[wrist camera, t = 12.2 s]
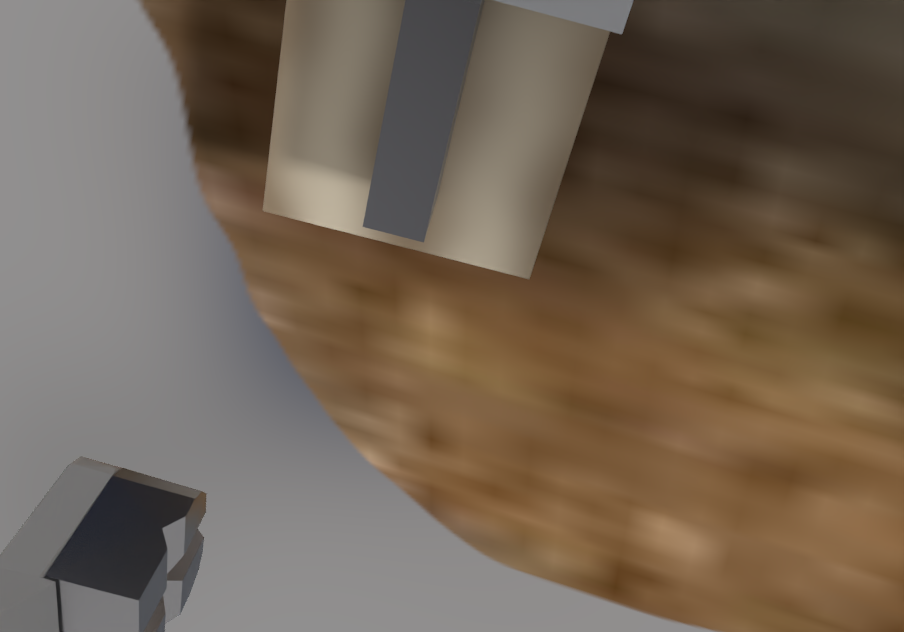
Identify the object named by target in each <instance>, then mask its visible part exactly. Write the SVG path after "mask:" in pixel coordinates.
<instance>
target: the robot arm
mask: <svg viewBox="0 0 904 632" xmlns="http://www.w3.org/2000/svg"><path fill="white" fill-rule="evenodd" d="M205 513H206V493H204V492H202V491H199V490H196V489H192V488H189V487H186V486H182V485H179V484H175V483H172V482H169V481H165V480H162V479H158V478H155V477H151V476H148V475H144V474H142V473H138V472H135V471H131V470H128V469H125V468H121V467H117V466H113V465H110V464H106V463H103V462H99V461H96V460H92V459H89V458H85V457H79V458H78V459H76V460H75V461H74V462H72V463H71V464H69V465H68V466H67V467H66V469H65V470H64V471H63V473H62V474H61V475H60V477H59V478H58V479H57V481H56V482H55V483H54V484H53V486H52V487H51V488H50V490H49V491H48V492H47V494H46V495H45V496H44V498H43V499H42V500H41V502H40V503H39V504H38V506H37V507H36V508H35V510H34V511H33V512H32V513H31V515H30V516H29V517H28V519H27V520H26V522H25V523H24V524H23V525H22V527H21V528H20V529H19V531H18V532H17V533H16V535H15V536H14V537H13V539H12V540H11V541H10V543H9V544H8V545H7V546H6V548H5V549H4V550H3V552H2V553H1V554H0V632H165V624H166V623H167V622H169V621H170V620H172V619H174V618H175V617H177V616H179V615H180V614H181V612H182V610H183V608H184V605H185V603H186V601H187V599H188V597H189V595H190V592H191V589H192V587H193V584H194V581H195V578H196V576H197V573H198V570H199V566H200V561H201V557H202V552H203V542H204V537H203V536H202V534H201V533H200V532H199V530H198V527H199V525H200V523H201V521H202V519H203V517H204V515H205Z"/></svg>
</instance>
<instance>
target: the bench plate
mask: <svg viewBox="0 0 904 632" xmlns="http://www.w3.org/2000/svg"><path fill="white" fill-rule="evenodd" d="M404 5H405V0H286V8H285V17H284V26H283V35H282V44H281V53H280V61H279V70H278V79H277V88H276V97H275V106H274V115H273V124H272V132H271V141H270V150H269V159H268V168H267V177H266V186H265V195H264V204H263V211H265V212H269V213H272V214H276V215H280V216H284V217H288V218H292V219H296V220H300V221H304V222H308V223H312V224H315V225H319V226H323V227H327V228H331V229H335V230H339V231H343V232H347V233H351V234H354V235H358V236H362V237H366V238H370V239H374V240H378V241H382V242H386V243H390V244H393V245H397V246H401V247H405V248H409V249H413V250H417V251H421V252H425V253H429V254H432V255H436V256H440V257H444V258H448V259H452V260H456V261H460V262H464V263H468V264H471V265H475V266H479V267H483V268H487V269H491V270H495V271H499V272H503V273H507V274H510V275H514V276H518V277H522V278H526V279H530V276H531V273H532V270H533V266H534V263H535V260H536V257H537V254H538V251H539V248H540V245H541V242H542V239H543V236H544V233H545V230H546V227H547V224H548V220H549V217H550V214H551V211H552V208H553V205H554V202H555V199H556V196H557V193H558V190H559V187H560V184H561V181H562V178H563V175H564V171H565V168H566V165H567V162H568V159H569V156H570V153H571V150H572V147H573V144H574V141H575V138H576V135H577V132H578V129H579V126H580V122H581V119H582V116H583V113H584V110H585V107H586V104H587V101H588V98H589V95H590V92H591V89H592V86H593V83H594V80H595V77H596V73H597V70H598V67H599V64H600V61H601V58H602V55H603V52H604V49H605V46H606V43H607V40H608V37H609V34H610V31H607V30H603V29H599V28H596V27H592V26H588V25H584V24H581V23H577V22H573V21H569V20H566V19H562V18H558V17H554V16H551V15H547V14H543V13H539V12H535V11H532V10H528V9H524V8H520V7H517V6H513V5H509V4H505V3H502V2H498V1H494V0H485V1H484V5H483V9H482V13H481V18H480V22H479V26H478V30H477V34H476V39H475V43H474V47H473V51H472V55H471V59H470V64H469V68H468V72H467V76H466V80H465V84H464V89H463V93H462V97H461V101H460V105H459V109H458V114H457V118H456V122H455V126H454V130H453V134H452V139H451V143H450V147H449V151H448V155H447V159H446V164H445V168H444V172H443V176H442V180H441V184H440V189H439V193H438V197H437V201H436V204H435V207H434V210H433V214H432V217H431V220H430V224H429V227H428V230H427V234H426V237H425V240H424V242H420V241H416V240H412V239H408V238H404V237H400V236H396V235H393V234H389V233H385V232H381V231H377V230H373V229H369V228H365V227H363V222H364V217H365V211H366V206H367V201H368V195H369V190H370V185H371V180H372V174H373V169H374V164H375V158H376V153H377V148H378V143H379V137H380V132H381V127H382V121H383V116H384V111H385V106H386V100H387V95H388V90H389V84H390V79H391V74H392V68H393V63H394V58H395V53H396V47H397V42H398V37H399V31H400V26H401V21H402V16H403V10H404Z"/></svg>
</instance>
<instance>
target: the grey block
mask: <svg viewBox="0 0 904 632" xmlns="http://www.w3.org/2000/svg"><path fill="white" fill-rule="evenodd" d="M484 1H485V0H405V5H404V10H403V16H402V21H401V26H400V31H399V37H398V42H397V47H396V53H395V58H394V63H393V68H392V74H391V79H390V84H389V90H388V95H387V100H386V106H385V111H384V116H383V121H382V127H381V132H380V137H379V143H378V148H377V153H376V158H375V164H374V169H373V174H372V180H371V185H370V190H369V195H368V201H367V206H366V211H365V217H364V222H363V227H365V228H369V229H373V230H377V231H381V232H385V233H389V234H393V235H396V236H400V237H404V238H408V239H412V240H416V241H420V242H424V240H425V237H426V234H427V230H428V227H429V224H430V220H431V217H432V214H433V210H434V207H435V204H436V201H437V197H438V193H439V189H440V184H441V180H442V176H443V172H444V168H445V164H446V159H447V155H448V151H449V147H450V143H451V139H452V134H453V130H454V126H455V122H456V118H457V114H458V109H459V105H460V101H461V97H462V93H463V89H464V84H465V80H466V76H467V72H468V68H469V64H470V59H471V55H472V51H473V47H474V43H475V39H476V34H477V30H478V26H479V22H480V18H481V13H482V9H483V5H484ZM494 1H498V2H502V3H505V4H509V5H513V6H517V7H520V8H524V9H528V10H532V11H535V12H539V13H543V14H547V15H551V16H554V17H558V18H562V19H566V20H569V21H573V22H577V23H581V24H584V25H588V26H592V27H596V28H599V29H603V30H607V31H611V32H615V33H618V34H622V33H623V30H624V27H625V24H626V21H627V18H628V15H629V12H630V9H631V6H632V3H633V1H634V0H494Z"/></svg>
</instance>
